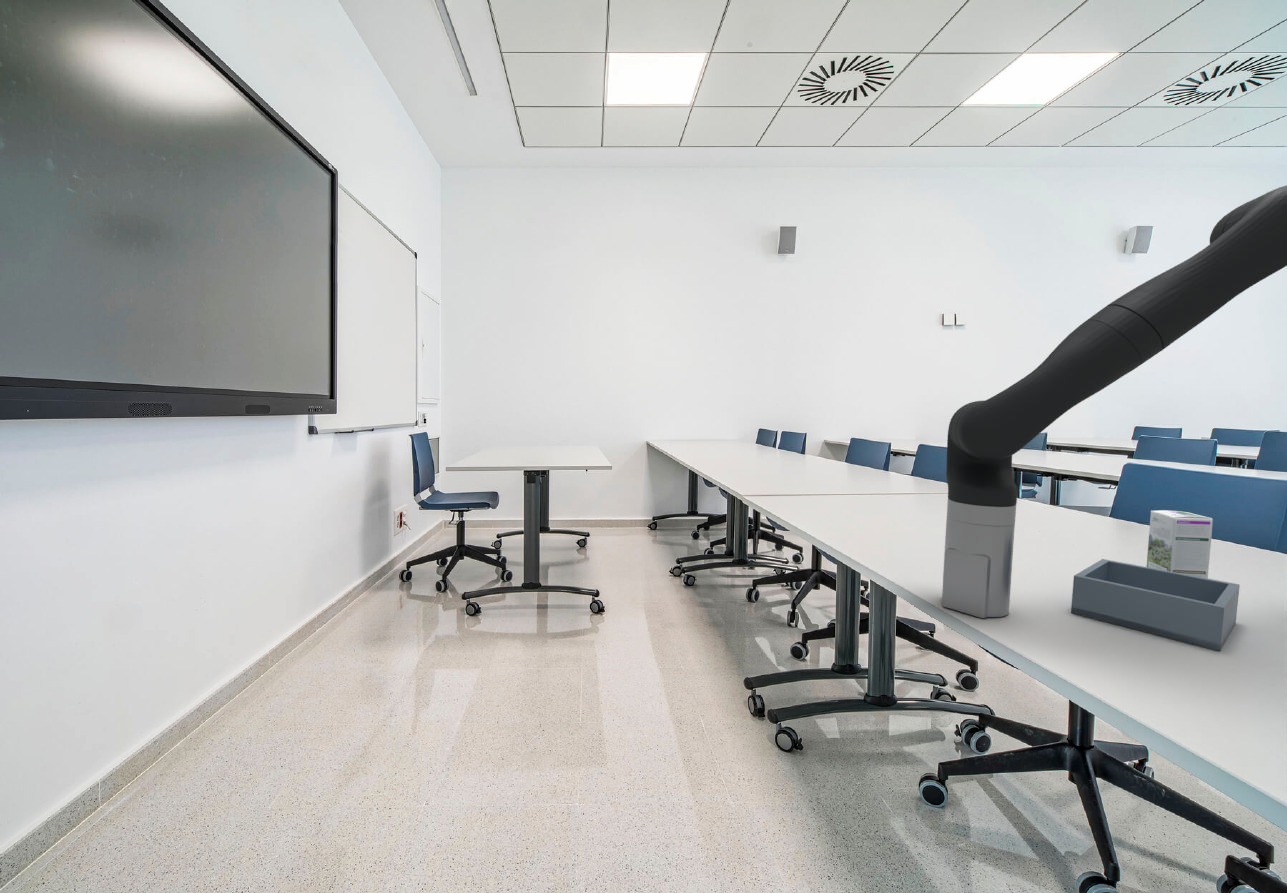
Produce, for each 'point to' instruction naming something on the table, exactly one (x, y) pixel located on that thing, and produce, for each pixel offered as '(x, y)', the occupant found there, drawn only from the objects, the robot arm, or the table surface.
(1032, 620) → the table surface
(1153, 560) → the syrup box
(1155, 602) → the tote
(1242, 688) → the table surface
